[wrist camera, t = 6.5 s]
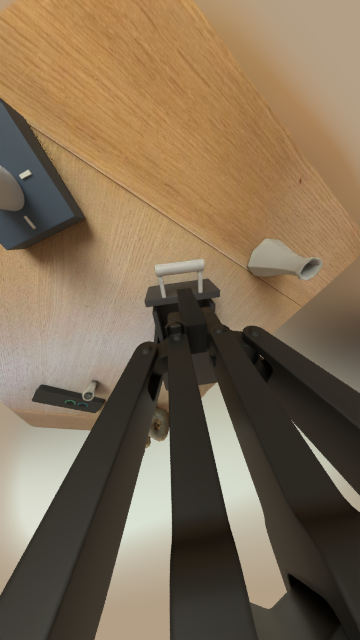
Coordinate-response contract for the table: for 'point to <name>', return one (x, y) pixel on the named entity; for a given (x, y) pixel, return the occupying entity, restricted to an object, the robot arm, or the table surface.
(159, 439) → the teapot
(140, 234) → the table surface
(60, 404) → the smart home device
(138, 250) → the table surface
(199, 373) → the drawer cabinet
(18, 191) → the timer knob
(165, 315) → the open drawer with handle
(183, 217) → the table surface
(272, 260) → the flask
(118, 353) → the table surface
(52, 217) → the timer panel
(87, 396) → the wristwatch
